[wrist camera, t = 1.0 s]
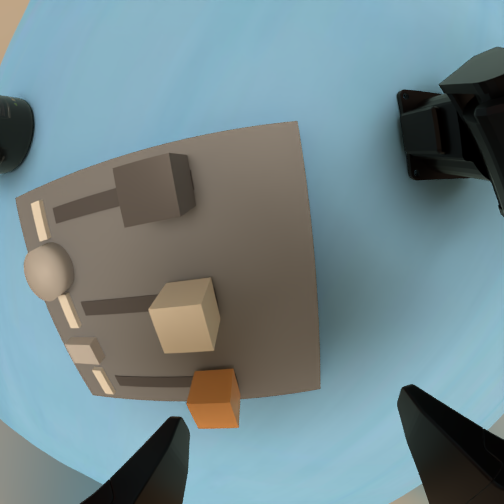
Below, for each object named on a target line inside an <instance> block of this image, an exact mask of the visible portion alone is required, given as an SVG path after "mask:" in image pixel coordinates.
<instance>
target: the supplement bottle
mask: <svg viewBox="0 0 504 504" xmlns="http://www.w3.org/2000/svg"><path fill="white" fill-rule="evenodd" d="M32 132H33V116H32V112H31V109H30V107H29V105H28V104H27V102H25V101H24V100H22V99H19V98H15V97H9V96H2V95H0V174H2V173H7V172H10V171H12V170H14V169H15V168H16V167H17V166H18V165H19V164H20V163H21V162H22V160H23V159H24V157H25V155H26V153H27V151H28V148H29V146H30V142H31V138H32Z"/></svg>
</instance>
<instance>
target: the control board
mask: <svg viewBox="0 0 504 504" xmlns="http://www.w3.org/2000/svg"><path fill="white" fill-rule="evenodd" d="M166 153H176V154H184V155H187V158H188V164H189V169H190V175H191V181H192V186H193V192H194V197H195V203H196V206H195V207H193V208H192V209H191V210H189V211H188V212H186V213H185V214H184V215H182V216H181V217H177V218H171V219H166V220H161V221H156V222H151V223H146V224H141V225H136V226H131V227H126V228H125V227H124V223H123V219H122V214H121V210H120V205H119V200H118V196H117V191H116V185H115V180H114V174H113V169H112V168H115V167H118V166H122V165H125V164H129V163H132V162H136V161H139V160H143V159H146V158H150V157H154V156H158V155H162V154H166ZM15 199H16V204H17V209H18V214H19V219H20V223H21V228H22V232H23V236H24V240H25V243H26V247H27V250H28V254H27V255H26V257H25V260H24V273H25V277H26V280H27V282H28V284H29V286H30V288H31V289H32V291H33V292H34V293H35V294H36V295H37V296H38V297H39V298H41V299H42V300H45V303H46V305H47V308H48V310H49V313H50V315H51V317H52V320H53V322H54V324H55V326H56V328H57V331H58V333H59V335H60V337H61V339H62V341H63V343H64V345H65V347H66V349H67V351H68V353H69V355H70V357H71V358H72V360H73V362H74V364H75V366H76V368H77V369H78V371H79V373H80V375H81V376H82V378H83V380H84V381H85V383H86V385H87V386H88V388H89V390H90V391H91V393H92V394H93V395H96V396H104V397H113V398H123V399H136V400H154V401H187V399H188V395H189V391H190V387H191V384H192V380H193V376H194V372H195V371H206V370H221V369H234V373H235V377H236V380H237V384H238V388H239V391H240V399H248V398H259V397H268V396H277V395H285V394H292V393H299V392H305V391H311V390H317V389H320V343H319V318H318V300H317V284H316V270H315V258H314V246H313V236H312V226H311V216H310V207H309V199H308V191H307V183H306V175H305V168H304V161H303V154H302V147H301V141H300V134H299V128H298V122H297V121H293V122H283V123H274V124H266V125H259V126H252V127H245V128H239V129H233V130H227V131H222V132H216V133H211V134H206V135H201V136H196V137H192V138H187V139H183V140H179V141H175V142H170V143H166V144H162V145H159V146H155V147H151V148H147V149H144V150H140V151H137V152H133V153H130V154H127V155H123V156H120V157H117V158H114V159H111V160H108V161H105V162H102V163H99V164H96V165H93V166H90V167H88V168H85V169H82V170H80V171H77V172H74V173H72V174H69V175H67V176H64V177H62V178H59V179H57V180H54V181H52V182H50V183H47V184H45V185H43V186H40V187H38V188H36V189H34V190H32V191H29V192H27V193H25V194H23V195H21V196H19V197H17V198H15ZM209 277H211V280H212V284H213V289H214V293H215V297H216V302H217V306H218V310H219V314H220V318H221V319H220V324H219V328H218V333H217V338H216V343H215V348H214V351H203V352H187V353H165V354H164V351H163V348H162V346H161V343H160V341H159V338H158V335H157V333H156V330H155V327H154V324H153V322H152V319H151V316H150V313H149V310H148V309H149V308H150V306H151V305H152V303H153V302H154V300H155V299H156V297H157V296H158V294H159V293H160V291H161V290H162V288H163V287H164V286H165V284H166V283H170V282H178V281H186V280H194V279H202V278H209Z"/></svg>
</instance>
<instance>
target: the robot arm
mask: <svg viewBox="0 0 504 504" xmlns="http://www.w3.org/2000/svg"><path fill="white" fill-rule="evenodd" d="M439 86H440V88H441V89H442V91H443V92H444V93H446V94H437V93H430V92H422V91H413V90H401V91H399V92H398V101H399V106H400V112H401V116H400V119H401V125H402V132H403V139H404V147H405V151H406V153H407V163H408V173H409V176H410V178H411V179H413V180H431V179H456V178H476V179H482V180H487V181H491V183H492V186H493V189H494V191H495V194H496V197H497V200H498V203H499V205H498V207H499V210H500V213H501V215H502V216H503V217H504V48H501V47H495V48H492V49H490V50H488V51H485V52H483V53H480V54H478V55H476V56H474V57H472V58H471V59H470V60H468V61H467V62H466V63H465V64H463V65H462V66H461V67H460V68H458V69H457V70H456V71H455V72H453V73H452V74H451V75H450V76H449V77H447V78H446V79H445V80H444V81H442V82H441V83H440V84H439ZM403 94H404V95H405V96H406V99H405V98H404V97H403ZM415 170H416V172H417V175H416V176H415V175H414V171H415ZM397 407H398V411H399V414H400V418H401V422H402V425H403V429H404V433H405V437H406V440H407V443H408V446H409V449H410V451H411V454H412V456H413V459H414V462H415V464H416V467H417V470H418V472H419V475H420V478H421V481H422V484H423V486H424V489H425V492H426V495H427V498H428V501H429V504H504V439H502V438H500V437H498V436H496V435H494V434H492V433H491V432H489V431H487V430H486V429H483V428H482V427H481V426H479V425H477V424H476V423H474V422H473V421H471V420H469V419H468V418H466V417H464V416H463V415H461V414H460V413H458V412H456V411H455V410H453V409H452V408H450V407H448V406H447V405H445V404H444V403H442V402H440V401H439V400H437V399H436V398H434V397H433V396H431V395H429V394H428V393H426V392H425V391H423V390H422V389H420V388H419V387H417V386H415V385H413V384H410V385H407V386H404V387H402V389H401V391H400V395H399V398H398V401H397ZM189 441H190V432H189V429H188V427H187V425H186V424H185V422H184V420H183V418H182V417H174V416H172V417H169V418H168V419H167V420H166V421H165V422H164V423H163V425H162V426H161V427H160V428H159V429H158V430H157V431H156V432H155V433H154V434H153V435H152V436H151V437H150V438H149V439H148V440H147V441H146V443H145V444H144V445H143V446H142V447H141V448H140V449H139V450H138V451H137V452H136V453H135V454H134V455H133V456H132V457H131V458H130V459H129V460H128V461H127V462H126V463H125V464H124V465H123V466H122V467H121V468H120V469H119V470H118V471H117V472H116V473H115V474H114V475H113V476H112V477H111V478H110V480H108V481H107V482H106V483H105V484H103V486H101V487H100V488H99V489H98V490H97V491H96V492H95V493H94V494H92V495H91V496H90V497H88V498H87V499H86V500H84V501H83V502H81V503H80V504H182V503H183V497H184V491H185V486H186V480H187V474H188V462H189Z"/></svg>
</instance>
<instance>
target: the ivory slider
mask: <svg viewBox="0 0 504 504" xmlns="http://www.w3.org/2000/svg"><path fill="white" fill-rule="evenodd" d="M148 310H149V313H150V316H151V319H152V322H153V324H154V327H155V330H156V333H157V335H158V338H159V341H160V343H161V346H162V348H163V351H164V354H165V353H187V352H203V351H214V348H215V343H216V338H217V333H218V328H219V324H220V319H221V318H220V314H219V310H218V306H217V302H216V297H215V293H214V289H213V284H212V280H211V277H209V278H202V279H194V280H186V281H178V282H170V283H166V284H165V286H164V287H163V288H162V290H161V291H160V293H159V294H158V296H157V297H156V299H155V300H154V302H153V303H152V305H151V306H150V308H149V309H148Z"/></svg>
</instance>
